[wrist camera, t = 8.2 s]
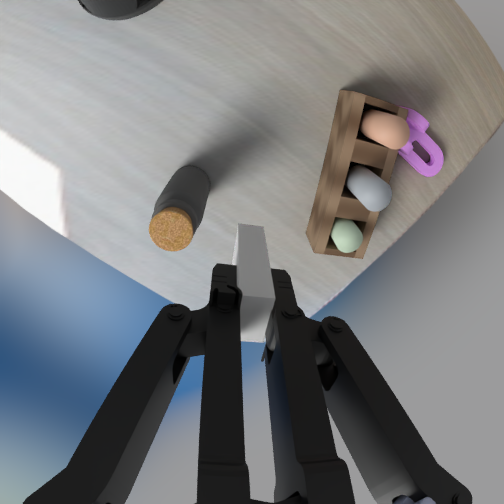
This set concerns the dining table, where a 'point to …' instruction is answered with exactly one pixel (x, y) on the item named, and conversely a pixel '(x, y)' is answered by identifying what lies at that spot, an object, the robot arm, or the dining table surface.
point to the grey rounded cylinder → (368, 188)
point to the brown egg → (385, 128)
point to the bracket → (418, 133)
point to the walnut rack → (335, 171)
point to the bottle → (180, 209)
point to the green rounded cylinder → (346, 235)
